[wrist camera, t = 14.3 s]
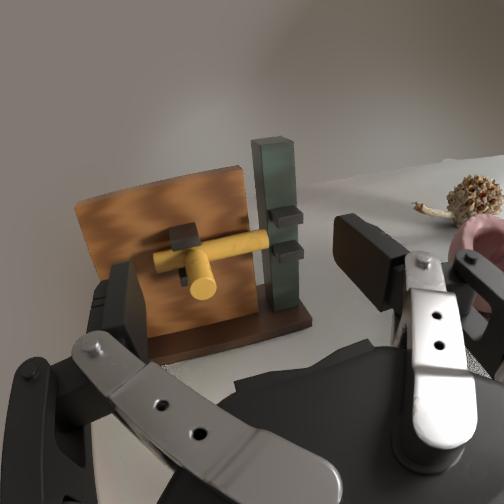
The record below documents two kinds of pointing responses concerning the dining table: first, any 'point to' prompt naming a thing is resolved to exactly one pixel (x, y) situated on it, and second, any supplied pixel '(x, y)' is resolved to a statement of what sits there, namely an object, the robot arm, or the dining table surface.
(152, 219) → the door
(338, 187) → the dining table surface
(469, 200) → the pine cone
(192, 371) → the dining table surface
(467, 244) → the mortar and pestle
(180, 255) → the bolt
